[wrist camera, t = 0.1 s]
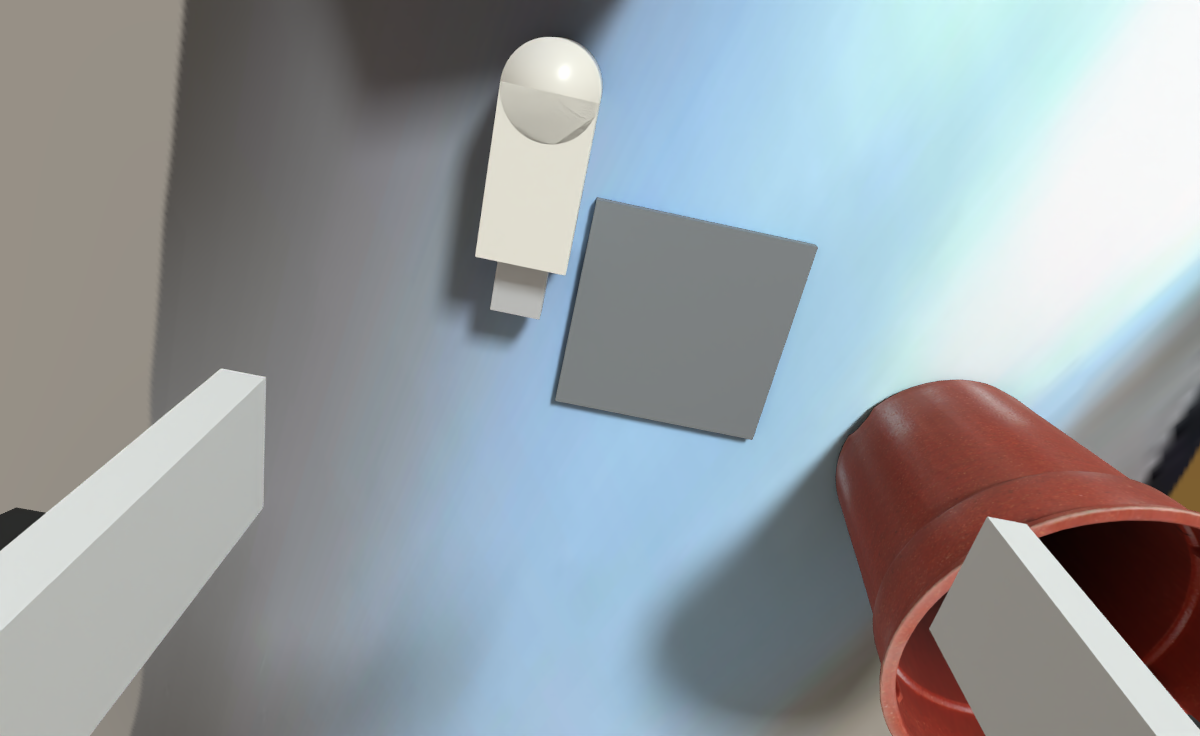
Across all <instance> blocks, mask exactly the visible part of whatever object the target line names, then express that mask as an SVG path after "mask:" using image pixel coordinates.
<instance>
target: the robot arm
mask: <svg viewBox="0 0 1200 736" xmlns="http://www.w3.org/2000/svg"><path fill="white" fill-rule="evenodd" d="M265 401H266V377H263V376H257V375H252V374H247V373H242V372H237V371H232V370H226V369H220V370H219V371H217V372H216V373H215V374H214V375H213V376H211V377H210V378H209V379H208V380H206V381H205V382H204V383H203V384H202V385H200V386H199V387H198V388H197V389H196V390H194V391H193V392H192V393H191V394H190V395H188V396H187V397H186V398H185V399H183V400H182V401H181V402H180V403H179V404H177V405H176V406H175V407H174V408H173V409H171V410H170V411H169V412H168V413H167V414H165V415H164V416H163V417H162V418H160V419H159V420H158V421H157V422H156V423H154V424H153V425H152V426H151V427H150V428H148V429H147V430H146V431H145V432H144V433H142V434H141V435H140V436H139V437H138V438H136V439H135V440H134V441H133V442H131V443H130V444H129V445H128V446H127V447H125V448H124V449H123V450H122V451H121V452H119V453H118V454H117V455H116V456H114V457H113V458H112V459H111V460H110V461H108V462H107V463H106V464H105V465H104V466H102V467H101V468H100V469H99V470H98V471H97V472H95V473H94V474H93V475H92V476H90V477H89V478H88V479H87V480H85V481H84V482H83V483H82V484H81V485H79V486H78V487H77V488H76V489H75V490H73V491H72V492H71V493H70V494H69V495H67V496H66V497H65V498H64V499H62V500H61V501H60V502H59V503H58V504H56V505H55V506H54V507H53V508H52V509H50V510H49V511H48V512H47V513H44V512H38V511H33V510H27V509H21V508H14V509H12V510H10V511H8V512H5V513H3V514H1V515H0V736H90V735H91V733H92V732H93V731H94V730H95V728H96V727H97V726H98V724H99V723H100V722H101V720H102V719H103V718H104V716H105V715H106V714H107V712H108V711H109V710H110V708H111V707H112V706H113V704H114V703H115V702H116V701H117V699H118V698H119V697H120V695H121V694H122V693H123V691H124V690H125V689H126V687H127V686H128V685H129V683H130V682H131V681H132V679H133V678H134V677H135V676H136V674H137V673H138V672H139V670H140V669H141V668H142V666H143V665H144V664H145V662H146V661H147V660H148V658H149V657H150V656H151V655H152V653H153V652H154V651H155V649H156V648H157V647H158V645H159V644H160V643H161V641H162V640H163V639H164V637H165V636H166V635H167V633H168V632H169V631H170V630H171V628H172V627H173V626H174V624H175V623H176V622H177V620H178V619H179V618H180V616H181V615H182V614H183V612H184V611H185V610H186V608H187V607H188V606H189V605H190V603H191V602H192V601H193V599H194V598H195V597H196V595H197V594H198V593H199V591H200V590H201V589H202V587H203V586H204V585H205V583H206V582H207V581H208V580H209V578H210V577H211V576H212V574H213V573H214V572H215V570H216V569H217V568H218V566H219V565H220V564H221V562H222V561H223V560H224V558H225V557H226V556H227V555H228V553H229V552H230V551H231V549H232V548H233V547H234V545H235V544H236V543H237V541H238V540H239V539H240V537H241V536H242V535H243V533H244V532H245V531H246V530H247V528H248V527H249V526H250V524H251V523H252V522H253V520H254V519H255V518H256V516H257V515H258V514H259V512H260V511H261V510H262V508H263V493H264V447H265ZM929 630H930V631H931V633H932V635H933V637H934V639H935V641H936V643H937V645H938V647H939V648H940V650H941V652H942V654H943V656H944V658H945V660H946V662H947V664H948V666H949V667H950V669H951V671H952V673H953V675H954V677H955V679H956V681H957V683H958V685H959V686H960V688H961V690H962V692H963V694H964V696H965V698H966V700H967V702H968V704H969V705H970V707H971V709H972V711H973V713H974V715H975V717H976V719H977V721H978V722H979V724H980V726H981V728H982V730H983V732H984V734H985V736H1200V722H1199V721H1198V720H1196V719H1195V718H1194V717H1193V716H1192V715H1189V714H1186V713H1185V712H1184V710H1183V709H1182V708H1181V707H1180V706H1179V705H1178V703H1177V702H1176V701H1175V700H1174V699H1173V697H1172V696H1171V695H1170V694H1169V693H1168V691H1167V690H1166V689H1165V688H1164V687H1163V686H1162V684H1161V683H1160V682H1159V681H1158V680H1157V678H1156V677H1155V676H1154V675H1153V674H1152V672H1151V671H1150V670H1149V669H1148V668H1147V667H1146V665H1145V664H1144V663H1143V662H1142V661H1141V659H1140V658H1139V657H1138V656H1137V655H1136V653H1135V652H1134V651H1133V650H1132V649H1131V648H1130V646H1129V645H1128V644H1127V643H1126V642H1125V640H1124V639H1123V638H1122V637H1121V636H1120V634H1119V633H1118V632H1117V631H1116V630H1115V629H1114V627H1113V626H1112V625H1111V624H1110V623H1109V621H1108V620H1107V619H1106V618H1105V617H1104V615H1103V614H1102V613H1101V612H1100V611H1099V610H1098V608H1097V607H1096V606H1095V605H1094V604H1093V602H1092V601H1091V600H1090V599H1089V598H1088V596H1087V595H1086V594H1085V593H1084V592H1083V591H1082V589H1081V588H1080V587H1079V586H1078V585H1077V583H1076V582H1075V581H1074V580H1073V579H1072V577H1071V576H1070V575H1069V574H1068V573H1067V572H1066V570H1065V569H1064V568H1063V567H1062V566H1061V564H1060V563H1059V562H1058V561H1057V560H1056V558H1055V557H1054V556H1053V555H1052V554H1051V553H1050V551H1049V550H1048V549H1047V548H1046V547H1045V545H1044V544H1043V543H1042V542H1041V541H1040V539H1039V538H1038V537H1037V536H1036V535H1035V534H1034V532H1033V531H1032V530H1031V529H1030V528H1029V526H1028V525H1027V524H1024V523H1018V522H1013V521H1008V520H1003V519H998V518H992V517H987V518H986V520H985V522H984V524H983V526H982V527H981V529H980V531H979V533H978V535H977V537H976V539H975V541H974V543H973V545H972V547H971V549H970V551H969V553H968V555H967V556H966V558H965V560H964V562H963V564H962V566H961V568H960V570H959V572H958V574H957V576H956V578H955V580H954V582H953V584H952V586H951V587H950V589H949V591H948V593H947V595H946V597H945V599H944V601H943V603H942V605H941V607H940V609H939V611H938V613H937V615H936V617H935V618H934V620H933V622H932V624H931V626H930V628H929Z"/></svg>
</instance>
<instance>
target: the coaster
mask: <svg viewBox="0 0 1200 736" xmlns="http://www.w3.org/2000/svg"><path fill="white" fill-rule="evenodd" d="M817 249H818V247H817V246H816V245H815V244H810V243H806V242H801V241H796V240H792V239H787V238H782V237H778V236H773V235H769V234H764V233H759V232H755V231H750V230H746V229H741V228H736V227H732V226H727V225H722V224H718V223H713V222H709V221H704V220H699V219H695V218H690V217H685V216H681V215H676V214H672V213H667V212H662V211H658V210H653V209H649V208H644V207H639V206H635V205H630V204H625V203H621V202H616V201H612V200H607V199H602V198H598V197H597V200H596V205H595V210H594V215H593V220H592V224H591V229H590V234H589V239H588V244H587V249H586V253H585V258H584V263H583V268H582V273H581V278H580V282H579V287H578V292H577V297H576V302H575V306H574V311H573V316H572V321H571V326H570V331H569V335H568V340H567V345H566V350H565V355H564V360H563V364H562V369H561V374H560V379H559V384H558V388H557V393H556V398H555V401H559V402H564V403H569V404H574V405H579V406H584V407H589V408H594V409H599V410H604V411H609V412H614V413H619V414H624V415H629V416H635V417H640V418H645V419H650V420H655V421H660V422H665V423H670V424H675V425H680V426H685V427H690V428H695V429H700V430H705V431H710V432H715V433H720V434H725V435H731V436H736V437H741V438H746V439H751V440H752V439H753V436H754V434H755V431H756V428H757V425H758V422H759V419H760V416H761V413H762V410H763V407H764V404H765V401H766V398H767V395H768V392H769V390H770V387H771V384H772V381H773V378H774V375H775V372H776V369H777V366H778V363H779V360H780V357H781V354H782V351H783V348H784V345H785V343H786V340H787V337H788V334H789V331H790V328H791V325H792V322H793V319H794V316H795V313H796V310H797V307H798V304H799V301H800V298H801V296H802V293H803V290H804V287H805V284H806V281H807V278H808V275H809V272H810V269H811V266H812V263H813V260H814V257H815V254H816V251H817Z"/></svg>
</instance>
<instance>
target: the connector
mask: <svg viewBox="0 0 1200 736" xmlns="http://www.w3.org/2000/svg"><path fill="white" fill-rule="evenodd" d="M602 91H603V81H602V74H601V70H600V68H599V65H598V63H597V61H596V59H595V58H594V56H593V55H592V54H591V53H590V52H589V50H588V49H586V48H585V47H584V46H583V45H581V44H580V43H578V42H576V41H574V40H571V39H568V38H562V37H542V38H537V39H533V40H531V41H529V42H526V43H525V44H523V45H522V46H520V47H519V48H518V49H517V50H516V51H515V52H514V53H513V54H512V55H511V56H510V58H509V59H508V61H507V63H506V65H505V67H504V69H503V72H502V75H501V80H500V87H499V94H498V100H497V107H496V114H495V121H494V128H493V135H492V142H491V149H490V156H489V163H488V170H487V177H486V184H485V191H484V198H483V205H482V212H481V219H480V226H479V233H478V240H477V247H476V254H475V257H479V258H484V259H489V260H494V261H498V262H497V268H496V275H495V281H494V287H493V294H492V300H491V306H490V310H495V311H500V312H505V313H510V314H514V315H519V316H524V317H529V318H534V319H540V315H541V312H542V307H543V302H544V296H545V291H546V286H547V281H548V275H549V272H551V273H556V274H561V275H566V270H567V266H568V262H569V257H570V253H571V248H572V243H573V238H574V233H575V228H576V223H577V218H578V213H579V208H580V203H581V198H582V193H583V188H584V183H585V178H586V173H587V168H588V163H589V158H590V153H591V148H592V143H593V138H594V133H595V128H596V123H597V118H598V113H599V107H600V102H601V97H602Z"/></svg>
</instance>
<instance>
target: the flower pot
mask: <svg viewBox="0 0 1200 736" xmlns="http://www.w3.org/2000/svg"><path fill="white" fill-rule="evenodd" d="M836 489H837V495H838V499H839V502H840V505H841V508H842V512H843V515H844V518H845V522H846V525H847V528H848V532H849V535H850V538H851V541H852V545H853V548H854V551H855V555H856V558H857V561H858V564H859V568H860V571H861V574H862V578H863V581H864V585H865V588H866V591H867V595H868V598H869V602H870V605H871V608H872V612H873V632H874V640H875V644H876V648H877V652H878V655H879V658H880V662H881V669H880V702H881V707H882V711H883V715H884V718H885V721H886V724H887V726H888V729H889V731H890V733H891V734H892V736H985V734H984V732H983V730H982V728H981V726H980V724H979V722H978V721H977V719H976V717H975V715H974V713H973V711H972V709H971V707H970V705H969V704H968V702H967V700H966V698H965V696H964V694H963V692H962V690H961V688H960V686H959V685H958V683H957V681H956V679H955V677H954V675H953V673H952V671H951V669H950V667H949V666H948V664H947V662H946V660H945V658H944V656H943V654H942V652H941V650H940V648H939V647H938V645H937V643H936V641H935V639H934V637H933V635H932V633H931V631H930V630H929V628H930V626H931V624H932V622H933V620H934V618H935V617H936V615H937V613H938V611H939V609H940V607H941V605H942V603H943V601H944V599H945V597H946V595H947V593H948V591H949V589H950V587H951V586H952V584H953V582H954V580H955V578H956V576H957V574H958V572H959V570H960V568H961V566H962V564H963V562H964V560H965V558H966V556H967V555H968V553H969V551H970V549H971V547H972V545H973V543H974V541H975V539H976V537H977V535H978V533H979V531H980V529H981V527H982V526H983V524H984V522H985V520H986V518H987V517H992V518H998V519H1003V520H1008V521H1013V522H1018V523H1024V524H1027V525H1028V526H1029V528H1030V529H1031V530H1032V531H1033V532H1034V534H1035V535H1036V536H1037V537H1038V538H1039V539H1040V541H1041V542H1042V543H1043V544H1044V545H1045V547H1046V548H1047V549H1048V550H1049V551H1050V553H1051V554H1052V555H1053V556H1054V557H1055V558H1056V560H1057V561H1058V562H1059V563H1060V564H1061V566H1062V567H1063V568H1064V569H1065V570H1066V572H1067V573H1068V574H1069V575H1070V576H1071V577H1072V579H1073V580H1074V581H1075V582H1076V583H1077V585H1078V586H1079V587H1080V588H1081V589H1082V591H1083V592H1084V593H1085V594H1086V595H1087V596H1088V598H1089V599H1090V600H1091V601H1092V602H1093V604H1094V605H1095V606H1096V607H1097V608H1098V610H1099V611H1100V612H1101V613H1102V614H1103V615H1104V617H1105V618H1106V619H1107V620H1108V621H1109V623H1110V624H1111V625H1112V626H1113V627H1114V629H1115V630H1116V631H1117V632H1118V633H1119V634H1120V636H1121V637H1122V638H1123V639H1124V640H1125V642H1126V643H1127V644H1128V645H1129V646H1130V648H1131V649H1132V650H1133V651H1134V652H1135V653H1136V655H1137V656H1138V657H1139V658H1140V659H1141V661H1142V662H1143V663H1144V664H1145V665H1146V667H1147V668H1148V669H1149V670H1150V671H1151V672H1152V674H1153V675H1154V676H1155V677H1156V678H1157V680H1158V681H1159V682H1160V683H1161V684H1162V686H1163V687H1164V688H1165V689H1166V690H1167V691H1168V693H1169V694H1170V695H1171V696H1172V697H1173V699H1174V700H1175V701H1176V702H1177V703H1178V705H1179V706H1180V707H1181V708H1182V709H1183V710H1184V712H1185V713H1186V714H1189V715H1192V716H1193V717H1194V718H1195V719H1196V720H1198V721H1199V722H1200V513H1199V512H1196V511H1191V510H1188V509H1186V508H1185V507H1184V506H1182V505H1181V504H1179V503H1178V502H1176V501H1175V500H1173V499H1171V498H1170V497H1168V496H1167V495H1165V494H1164V493H1162V492H1160V491H1158V490H1156V489H1155V488H1153V487H1150V486H1148V485H1146V484H1143V483H1140V482H1138V481H1135V480H1132V479H1129V478H1128V477H1126V476H1125V475H1123V474H1122V473H1121V472H1119V471H1118V470H1116V469H1115V468H1113V467H1112V466H1110V465H1109V464H1108V463H1106V462H1105V461H1103V460H1102V459H1100V458H1099V457H1098V456H1096V455H1095V454H1093V453H1092V452H1090V451H1089V450H1088V449H1086V448H1085V447H1083V446H1082V445H1080V444H1079V443H1078V442H1076V441H1075V440H1073V439H1072V438H1070V437H1069V436H1068V435H1066V434H1065V433H1063V432H1062V431H1060V430H1059V429H1058V428H1056V427H1055V426H1053V425H1052V424H1050V423H1049V422H1048V421H1046V420H1045V419H1043V418H1042V417H1040V416H1039V415H1038V414H1036V413H1035V412H1033V411H1032V410H1030V409H1029V408H1028V407H1026V406H1025V405H1024V404H1022V403H1021V402H1020V401H1018V400H1017V399H1015V398H1014V397H1012V396H1010V395H1008V394H1007V393H1005V392H1003V391H1001V390H999V389H998V388H996V387H993V386H991V385H988V384H985V383H981V382H975V381H969V380H944V381H936V382H930V383H925V384H922V385H918V386H915V387H912V388H909V389H906V390H904V391H901V392H899V393H897V394H895V395H893V396H891V397H889V398H888V399H886V400H884V401H883V402H881V403H880V404H878V405H877V406H875V407H874V408H873V410H872V411H871V413H870V415H869V416H868V417H867V419H866V420H865V421H864V422H863V424H862V425H861V426H860V427H859V428H858V429H857V430H856V431H855V432H854V433H852V434H851V435H849V436H848V438H847V440H846V441H845V443H844V445H843V448H842V450H841V452H840V455H839V459H838V463H837V468H836Z"/></svg>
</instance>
